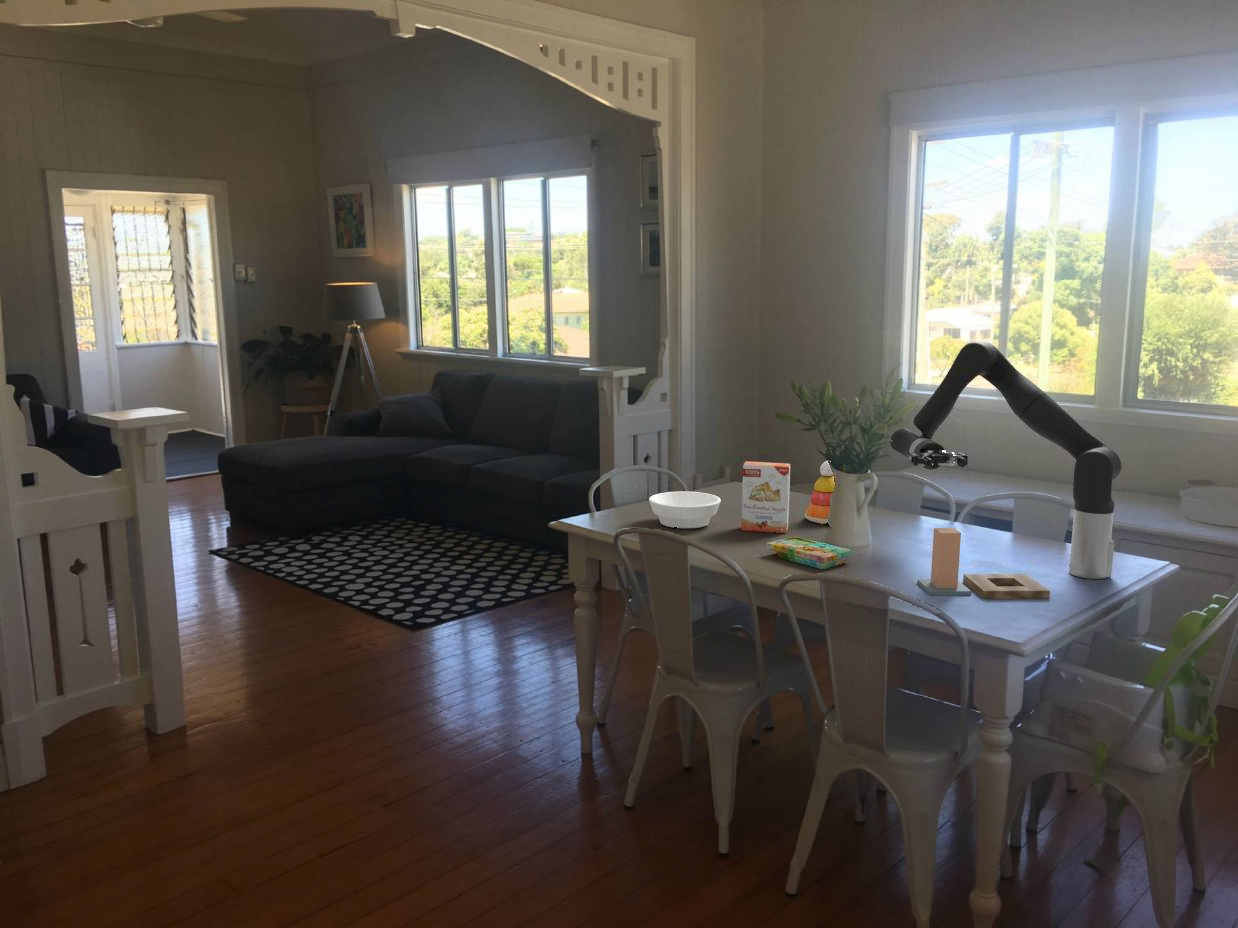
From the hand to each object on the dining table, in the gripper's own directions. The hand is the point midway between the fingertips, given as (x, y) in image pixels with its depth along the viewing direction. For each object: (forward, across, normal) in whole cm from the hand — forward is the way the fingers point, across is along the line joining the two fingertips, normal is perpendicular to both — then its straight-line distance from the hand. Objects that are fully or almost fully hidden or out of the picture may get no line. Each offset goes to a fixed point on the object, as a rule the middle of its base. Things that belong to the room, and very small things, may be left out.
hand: (947, 463), depth 258 cm
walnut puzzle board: (+15, +11, +29) cm, 35 cm away
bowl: (-54, -63, +28) cm, 88 cm away
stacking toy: (-58, -17, +29) cm, 67 cm away
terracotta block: (+14, -4, +28) cm, 32 cm away
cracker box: (-46, -39, +29) cm, 67 cm away
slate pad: (+14, -4, +29) cm, 33 cm away
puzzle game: (-14, -32, +29) cm, 46 cm away
